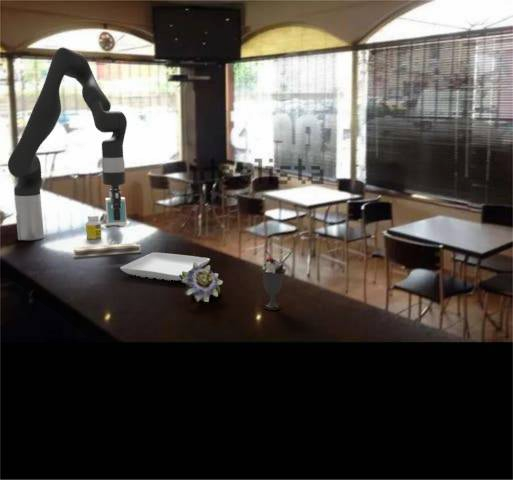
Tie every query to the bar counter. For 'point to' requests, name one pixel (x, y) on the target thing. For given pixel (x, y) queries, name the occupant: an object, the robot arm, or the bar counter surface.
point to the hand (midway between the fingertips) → (116, 218)
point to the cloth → (104, 222)
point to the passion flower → (201, 282)
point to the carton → (111, 215)
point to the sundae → (272, 278)
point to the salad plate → (163, 265)
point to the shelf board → (106, 250)
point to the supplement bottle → (93, 227)
